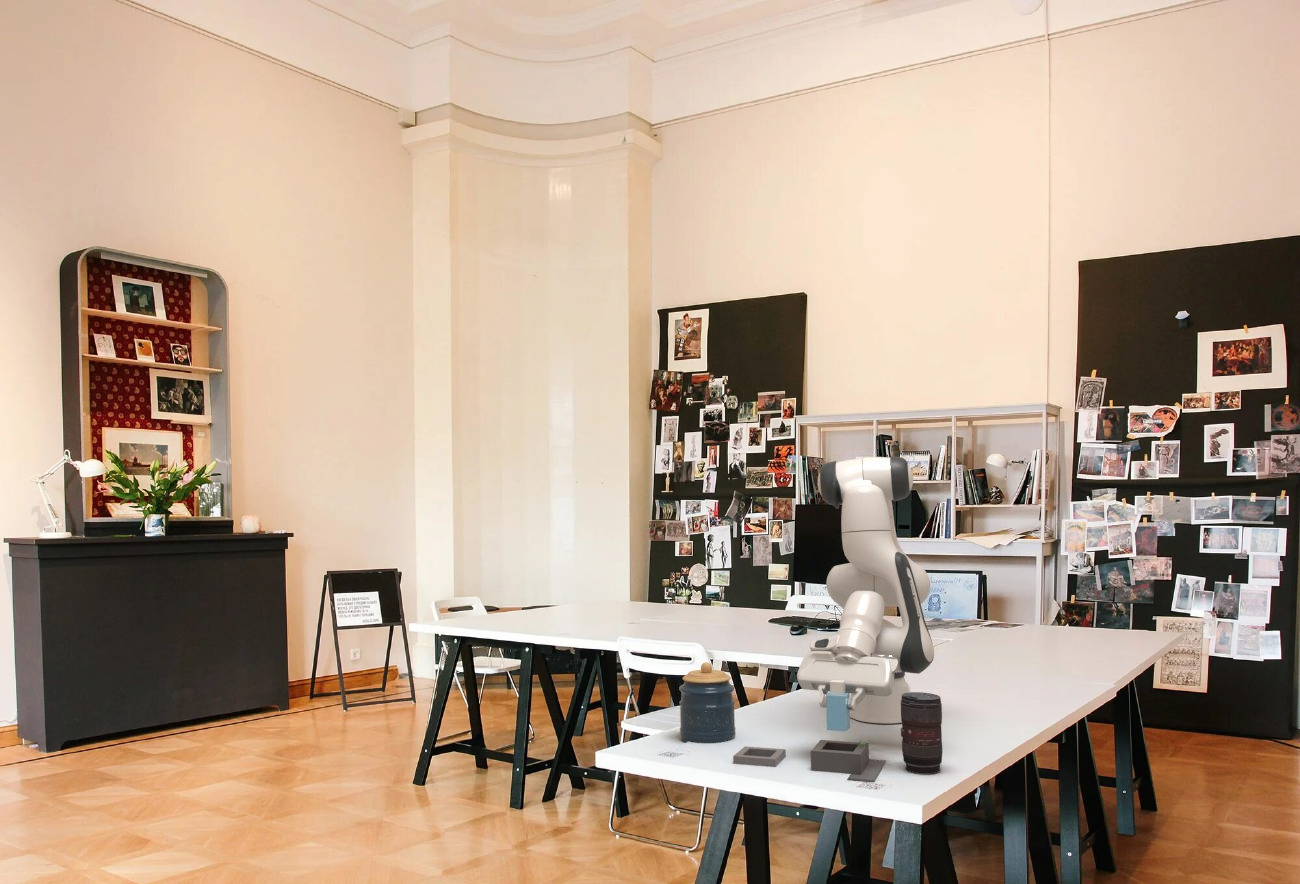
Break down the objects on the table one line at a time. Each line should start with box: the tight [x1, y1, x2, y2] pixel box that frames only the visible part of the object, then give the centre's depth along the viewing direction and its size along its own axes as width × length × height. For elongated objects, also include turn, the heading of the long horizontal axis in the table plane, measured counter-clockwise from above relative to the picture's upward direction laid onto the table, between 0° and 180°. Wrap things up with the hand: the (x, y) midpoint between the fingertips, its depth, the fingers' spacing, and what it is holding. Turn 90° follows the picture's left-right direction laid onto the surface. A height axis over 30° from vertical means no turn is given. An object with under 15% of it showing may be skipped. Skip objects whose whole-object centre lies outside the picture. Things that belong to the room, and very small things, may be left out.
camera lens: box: [900, 691, 943, 775], centre depth 203 cm, size 8×8×15 cm
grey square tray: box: [732, 745, 787, 768], centre depth 210 cm, size 9×9×2 cm
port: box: [810, 739, 887, 783], centre depth 204 cm, size 16×16×5 cm
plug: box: [825, 680, 851, 732], centre depth 205 cm, size 4×4×10 cm
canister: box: [678, 662, 736, 744], centre depth 233 cm, size 13×13×18 cm
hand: (837, 707), depth 204 cm, fingers closed on plug, 4 cm apart
